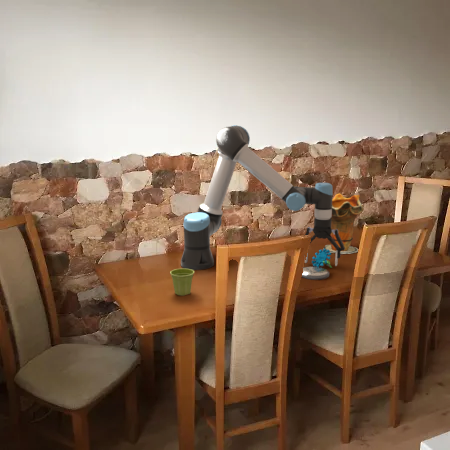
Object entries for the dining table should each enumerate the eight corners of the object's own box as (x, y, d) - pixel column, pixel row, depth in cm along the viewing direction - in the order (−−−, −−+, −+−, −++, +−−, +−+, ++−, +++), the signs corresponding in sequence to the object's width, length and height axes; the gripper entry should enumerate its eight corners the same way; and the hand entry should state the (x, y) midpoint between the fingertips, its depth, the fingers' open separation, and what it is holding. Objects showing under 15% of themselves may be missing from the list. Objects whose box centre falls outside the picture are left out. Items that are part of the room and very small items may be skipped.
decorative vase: (314, 252, 254) (317, 196, 249) (324, 243, 275) (327, 191, 270) (357, 257, 246) (361, 199, 241) (364, 247, 267) (367, 193, 262)
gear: (307, 260, 239) (322, 244, 238) (314, 267, 241) (329, 251, 241) (318, 270, 229) (334, 254, 229) (326, 277, 232) (341, 261, 231)
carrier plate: (295, 277, 219) (296, 274, 219) (301, 268, 231) (301, 265, 231) (326, 281, 215) (326, 277, 215) (331, 271, 227) (331, 268, 227)
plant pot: (173, 288, 208) (172, 267, 206) (196, 289, 207) (196, 268, 205) (168, 297, 199) (167, 275, 197) (192, 297, 198) (192, 276, 196)
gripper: (352, 218, 229) (350, 263, 234) (296, 214, 237) (295, 258, 242) (350, 221, 222) (348, 268, 227) (293, 217, 230) (292, 263, 235)
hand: (321, 263), depth 235 cm, fingers open, 13 cm apart
